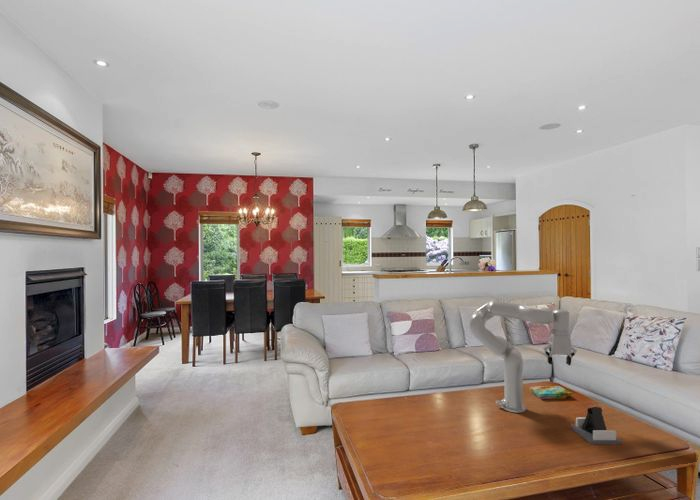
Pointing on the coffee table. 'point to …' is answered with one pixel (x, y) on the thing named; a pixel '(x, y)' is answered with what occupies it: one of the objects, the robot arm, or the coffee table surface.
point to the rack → (596, 434)
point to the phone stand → (594, 420)
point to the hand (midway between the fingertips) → (559, 364)
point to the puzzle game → (550, 392)
